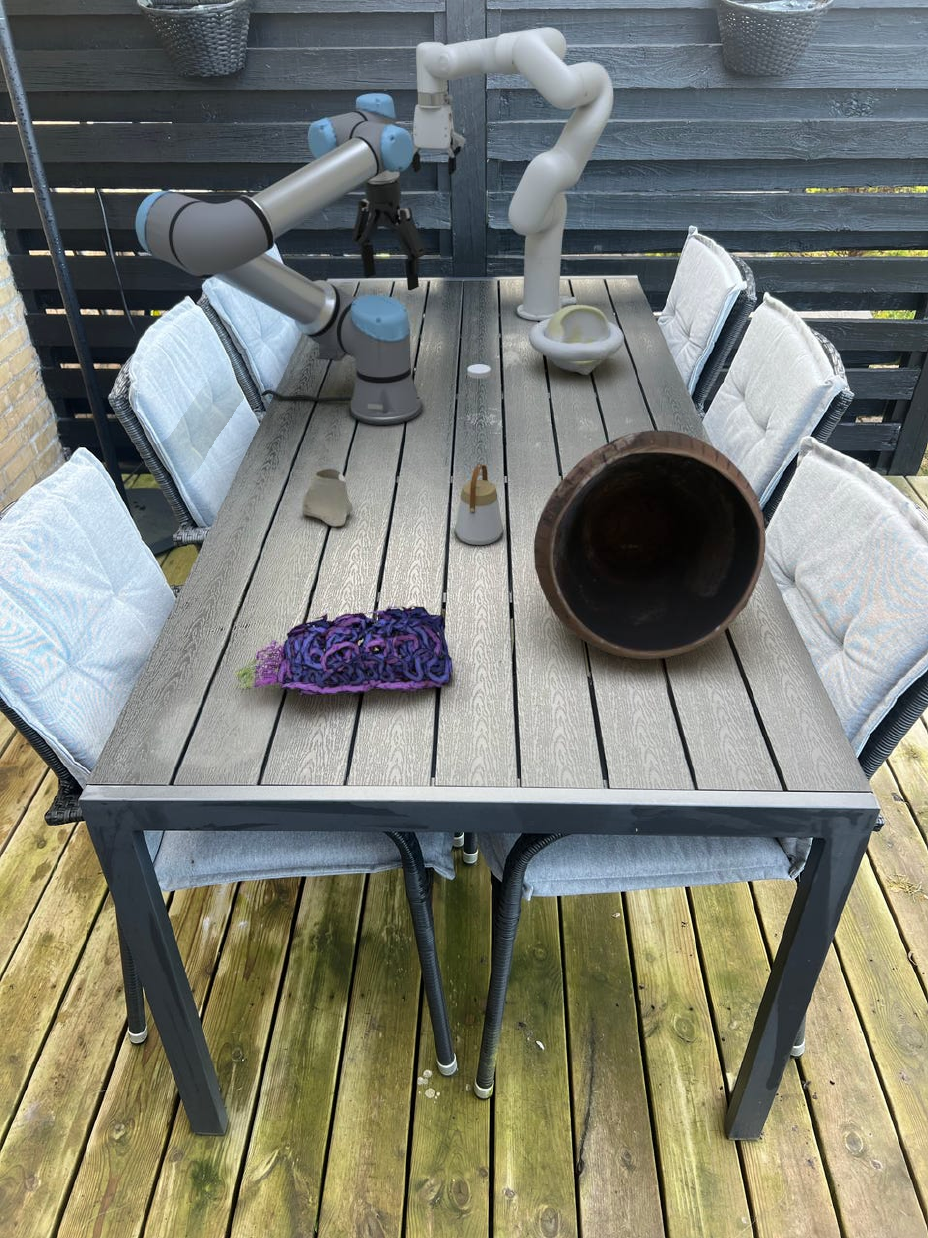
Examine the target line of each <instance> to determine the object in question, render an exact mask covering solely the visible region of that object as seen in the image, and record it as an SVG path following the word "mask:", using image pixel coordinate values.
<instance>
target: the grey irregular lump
mask: <svg viewBox="0 0 928 1238" xmlns="http://www.w3.org/2000/svg"><path fill="white" fill-rule="evenodd" d="M347 489H348V488H347V480H346V478H345V476H344V475H343V474H342V473H341V472H340V471H338V470H337V469H334V468H326V469H321V470H319V471H316V473H315V475H314V476H313V478H312V481H311V482H310V485H309V486H308V487H307V490H306V491H305V493H304V496H303V498H302V508H301V513H302V514H303V515H305V516H307V517H314V518H317V519H319V520H322V521H323V522H324V523H325V524H327V525H328V526H330V527H334V528H336V527H342V526H344V525H345V524H346V520H347V516H348V515H349V514H351V512H352V511H353V503H352V502H351V501H350V499H349V495H348V490H347Z"/></svg>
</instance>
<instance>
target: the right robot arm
mask: <svg viewBox="0 0 928 1238" xmlns="http://www.w3.org/2000/svg"><path fill="white" fill-rule="evenodd" d="M566 55H567V40H566V38H565V35H563V33H562V32H561V31H560V30H559V29H556V28H554V27H540V28H533V29H526V30H518V31H513V32H505V33H501V34H499V35H498V36H494V37H488V38H482V39H480V38H479V39H474V40H473V39H472V40H467V41H466V40H465V41H460V42H454V43H450V44H444V43H442V42H439V41H425V42H421V43H418V44H417V45H416V49H415V61H416V64H415V65H416V90H417V104H415V107H414V116H413V126H412V127H413V128H412V130H410V131H408V132H409V134H410V135H411V137H412V140H413V144H414V155H413V159H412V162H411V163H412V165H411V166H412V169H413V173H418V172H420V171H421V155H420V153H419V151H421V149H422V150H441V151H444V150H445V151H446V154H447V155H449V157H448V160H447V161H448V169H447V171H448V175H450V176H452V175H453V174H454V173H455V171H456V170H457V156H458V155H459V154H460V153H461V152H462V150H463V148H464V146H465V144H466V141H467V139H466V138H465V137H464V136H462V135H461V134H459V133H458V132H456V131H455V125H454V118H453V111H452V106H451V105H450V104H448V103H449V102H453V99H454V98H453V95H452V94H449V91H448V81H455V80H460V79H463V78H468V77H469V78H470V77H474V76H479V75H488V74H493V73H494V74H495V73H500V74H501V75H503V76H511V75H520V74H521V75H522V77H524V79H525V80H526V81H527V82H528V83H529V84H530V85H531V86H532V87H533V88H534V90H536V91H537V92H538V93H539V94H540V95H541V96H542V97H543V98H544V99H545V100H546V101H547V102H548V104H550V105H551V106H553V107H554V108H556V109H559V110H563V111H568V110H571V109H574V111H573V113H572V115H571V116H570V117H569V119H568V120H567V122H566V123H565V125H564V127H563V129H562V131H561V134H560V136H559V137H558V139H557V142H556V143H555V145H554V146H553V147H552V148H551V149H548V150H547V151H543V152H542V153H540V154H537V155H536V156H535V157H534V158H533V159H532V160H531V161H530V163H528V165H527V167H526V168H525V171H524V173H523V175H522V178H521V179H520V181H519V184H518V186H517V188H516V190H515V193H514V195H513V197H512V199H511V202H510V204H509V207H508V215H507V216H508V222H509V225H510V227H511V229H512V230H513V231H514V233H516V234H518V235H520V236H525V241H524V254H523V255H524V258H523V259H524V260H523V262H524V264H523V265H524V266H523V293H522V295H523V296H522V303H521V304H519V306H517V307H516V314H517V315H518V316H519V317H520V318H523V319H526V320H529V321H537V322H538V321H539V322H541V321H544V320H547V319H549V318H552V316H553V315H554V314H555V313H556V312H557V311H559V310H560V309H562V308H564V307H566V306H571V305H577V298H576V297H575V296H571V297H569V296H568V295H562V296H561V294H560V285H561V284H560V282H561V264H562V263H561V262H562V249H563V248H562V247H563V236H564V229H565V224H566V218H567V214H568V202H567V198H566V196H565V194H564V191H566V190H568V189H570V188H572V187H574V186H575V185H576V184H578V181H579V180H580V178H581V176H582V173H583V172H584V170H585V168H586V165H587V163H588V162H589V160H590V158H591V156H592V153H593V152H594V149H595V147H596V144H597V143H598V141H599V139H600V137H601V135H602V134H603V132H604V130H605V128H606V126H607V124H608V122H609V119H610V117H611V113H612V110H613V106H614V88H613V83H612V80H611V77H610V75H609V73H608V71H607V70H606V69H605V68H604V67H603V66H602V65H601V64H599V63H598V62H593V61H583V62H577V63H573V64H570V65H567V63H565V62H564V60H565V58H566ZM455 141H457V142H458V144H457V146H456V148H455V147H454V145H455Z"/></svg>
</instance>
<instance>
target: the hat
mask: <svg viewBox="0 0 928 1238" xmlns="http://www.w3.org/2000/svg"><path fill="white" fill-rule="evenodd" d="M528 341H529V345H530V346H531V347H532V348H533V350H535V351H536V352H537V353H538V354H541V355H543V356H545V357H548V358H549V359H550V360H551V361H552V363H553V364H554V365H555V366H556V367H558V368H560V369H562V370H563V371H568V372H573V373H578V374H581V375H583V376H587V375H589V374H590V373H591V372H593V371H594V369H595V368H596V367H597V366H599V365H600V364H601V363H602V362H603V361H604V360H605V359H606V358H608V357H612V356H613V355H615V354H616V353H617V352H619V350H621V348H622V347H623V345H624V342H625V335H624V332H623V331H622V330H621V328H619V326H617V325H616V324H614V323H612V322H610V321H609V320H608V318H607V317H606V315H605V313H604V312H603V311H602V310H601V309H600V308H598V307H595V306H591V305H586V304H574V305H566V306H564V307H563V308H562V309H560V310H559V311H557V312H556V313H555V314H554V315H553V316H552V318H549V319H547V320H544V321H539V322H538V323H536V324H535V325H534V326H532V328H531V329H530V331H529V333H528Z"/></svg>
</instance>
